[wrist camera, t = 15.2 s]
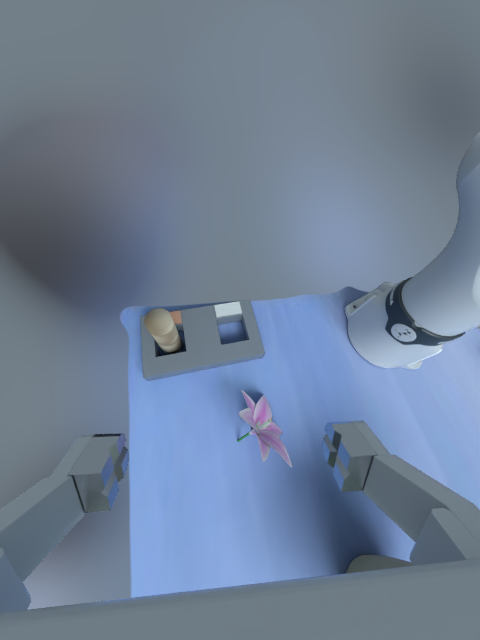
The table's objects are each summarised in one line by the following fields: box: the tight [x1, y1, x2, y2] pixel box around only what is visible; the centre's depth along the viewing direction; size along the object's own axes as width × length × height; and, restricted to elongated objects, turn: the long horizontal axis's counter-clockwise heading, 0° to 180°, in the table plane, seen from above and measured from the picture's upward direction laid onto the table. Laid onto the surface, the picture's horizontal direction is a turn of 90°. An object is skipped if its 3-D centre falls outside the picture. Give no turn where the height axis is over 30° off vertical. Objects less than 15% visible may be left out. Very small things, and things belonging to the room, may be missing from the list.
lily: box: [237, 390, 292, 468], centre depth 37 cm, size 12×12×10 cm
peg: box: [144, 308, 183, 355], centre depth 39 cm, size 4×4×12 cm
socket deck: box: [140, 300, 265, 381], centre depth 44 cm, size 22×12×3 cm, turn 103°
